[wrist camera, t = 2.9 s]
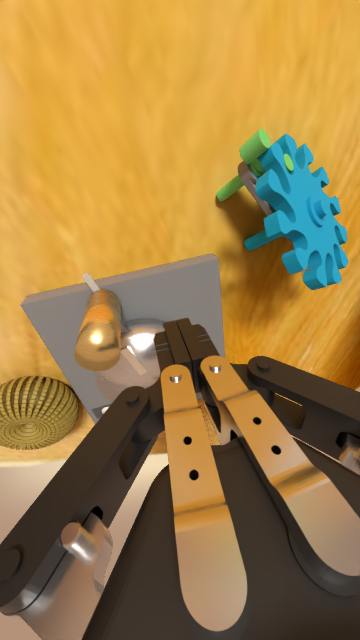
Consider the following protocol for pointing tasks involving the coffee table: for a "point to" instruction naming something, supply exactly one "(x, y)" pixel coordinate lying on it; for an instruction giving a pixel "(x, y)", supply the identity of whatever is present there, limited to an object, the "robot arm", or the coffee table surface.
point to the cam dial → (117, 346)
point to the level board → (128, 313)
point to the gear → (292, 207)
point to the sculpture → (35, 412)
